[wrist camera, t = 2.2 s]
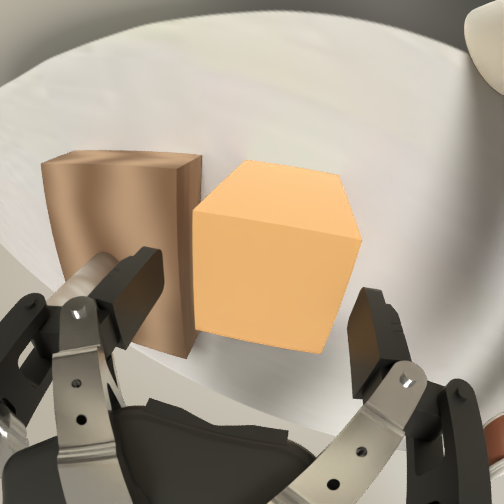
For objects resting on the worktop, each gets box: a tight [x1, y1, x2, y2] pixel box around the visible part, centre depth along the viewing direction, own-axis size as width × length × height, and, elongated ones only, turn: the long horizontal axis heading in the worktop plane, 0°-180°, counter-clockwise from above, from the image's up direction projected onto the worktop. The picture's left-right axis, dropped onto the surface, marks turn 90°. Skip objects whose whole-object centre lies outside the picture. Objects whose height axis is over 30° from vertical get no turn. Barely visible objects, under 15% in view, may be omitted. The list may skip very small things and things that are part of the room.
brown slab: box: [41, 150, 202, 359], centre depth 19 cm, size 12×16×10 cm
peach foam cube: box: [192, 160, 362, 354], centre depth 16 cm, size 9×6×9 cm, turn 175°
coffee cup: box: [483, 412, 504, 480], centre depth 24 cm, size 9×9×12 cm
